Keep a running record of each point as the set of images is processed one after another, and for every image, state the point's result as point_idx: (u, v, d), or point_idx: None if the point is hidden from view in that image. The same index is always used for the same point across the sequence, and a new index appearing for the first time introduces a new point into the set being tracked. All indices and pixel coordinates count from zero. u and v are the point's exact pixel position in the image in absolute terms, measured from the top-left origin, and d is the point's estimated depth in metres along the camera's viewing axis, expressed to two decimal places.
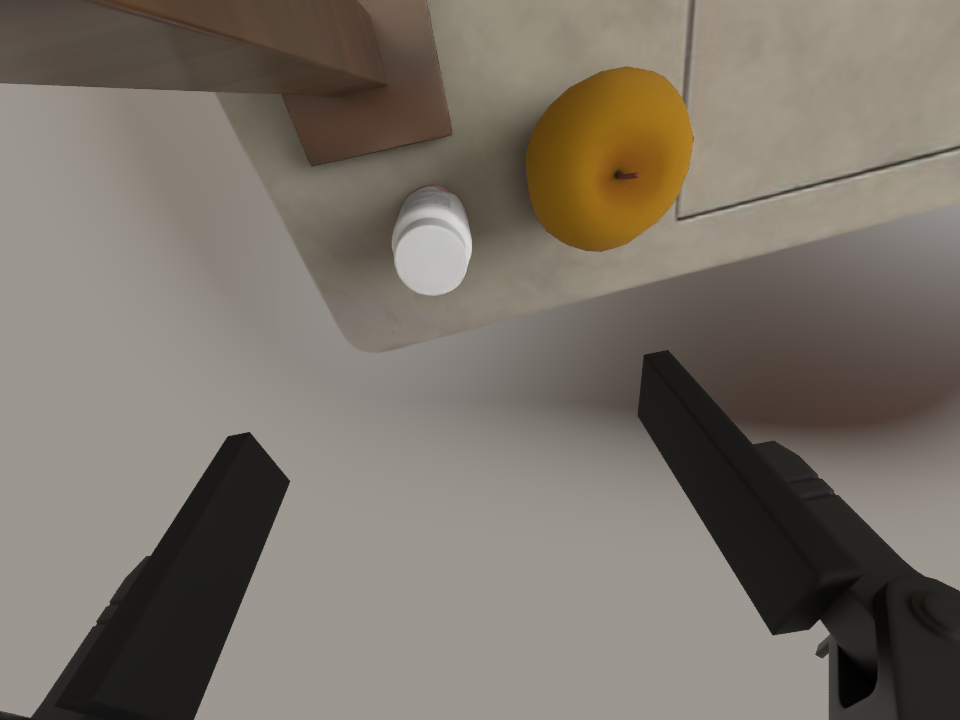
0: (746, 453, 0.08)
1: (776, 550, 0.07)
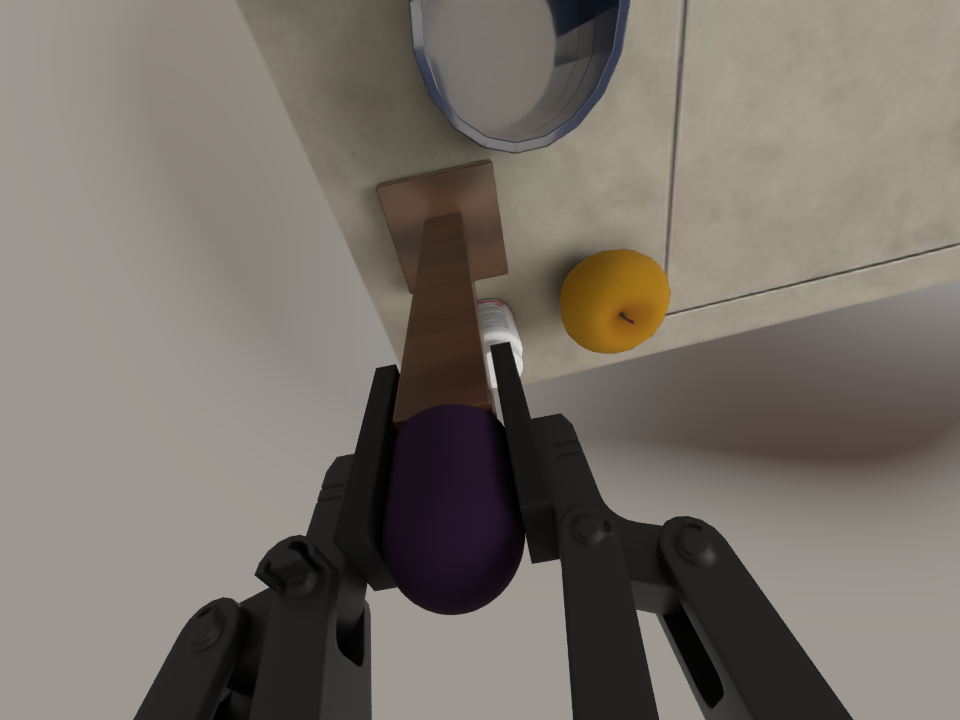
0: (521, 421, 0.10)
1: None
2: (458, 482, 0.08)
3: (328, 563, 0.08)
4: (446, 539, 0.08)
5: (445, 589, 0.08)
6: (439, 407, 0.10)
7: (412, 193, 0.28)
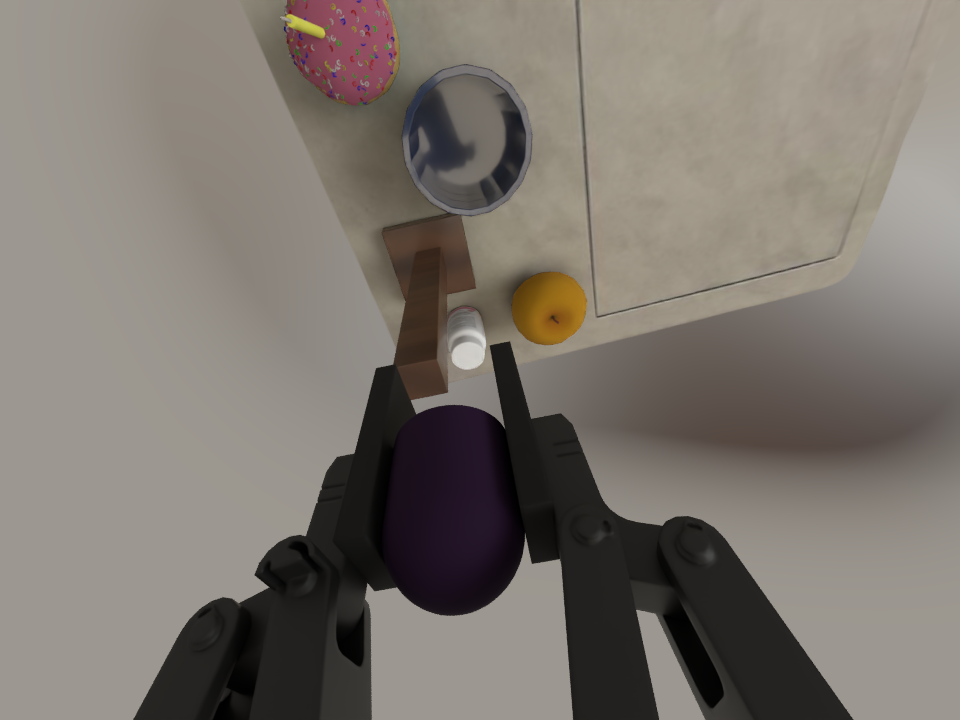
0: (521, 421, 0.10)
1: None
2: (457, 483, 0.08)
3: (328, 563, 0.08)
4: (446, 540, 0.08)
5: (445, 590, 0.08)
6: (439, 408, 0.10)
7: (406, 235, 0.41)
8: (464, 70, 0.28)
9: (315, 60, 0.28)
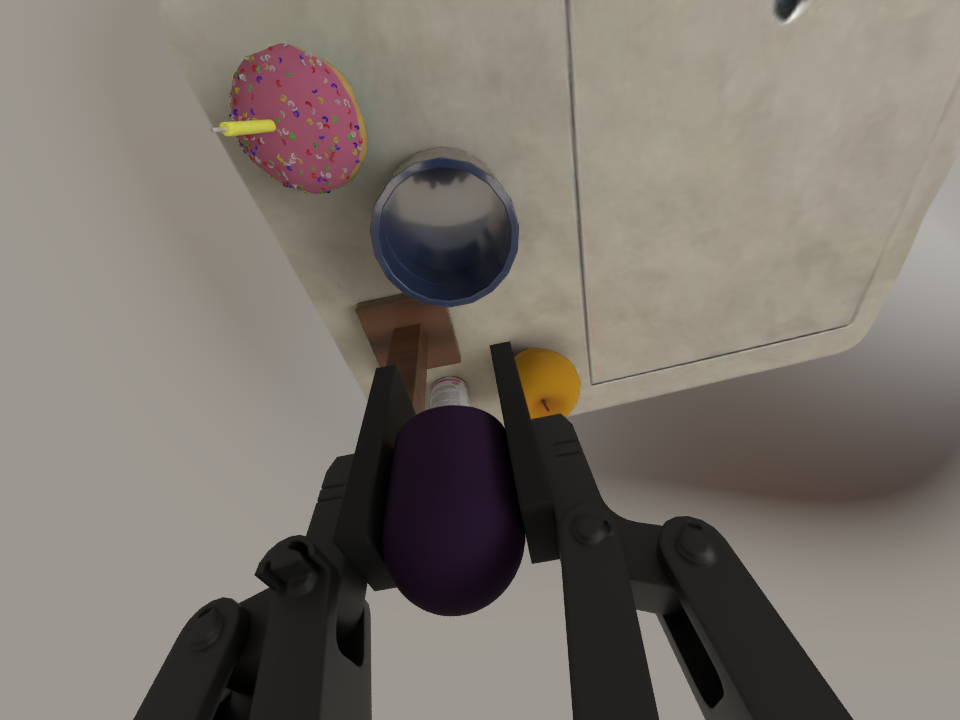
0: (521, 421, 0.10)
1: None
2: (458, 483, 0.08)
3: (328, 563, 0.08)
4: (446, 540, 0.08)
5: (446, 590, 0.08)
6: (439, 408, 0.10)
7: (383, 313, 0.37)
8: (440, 163, 0.25)
9: (266, 153, 0.24)
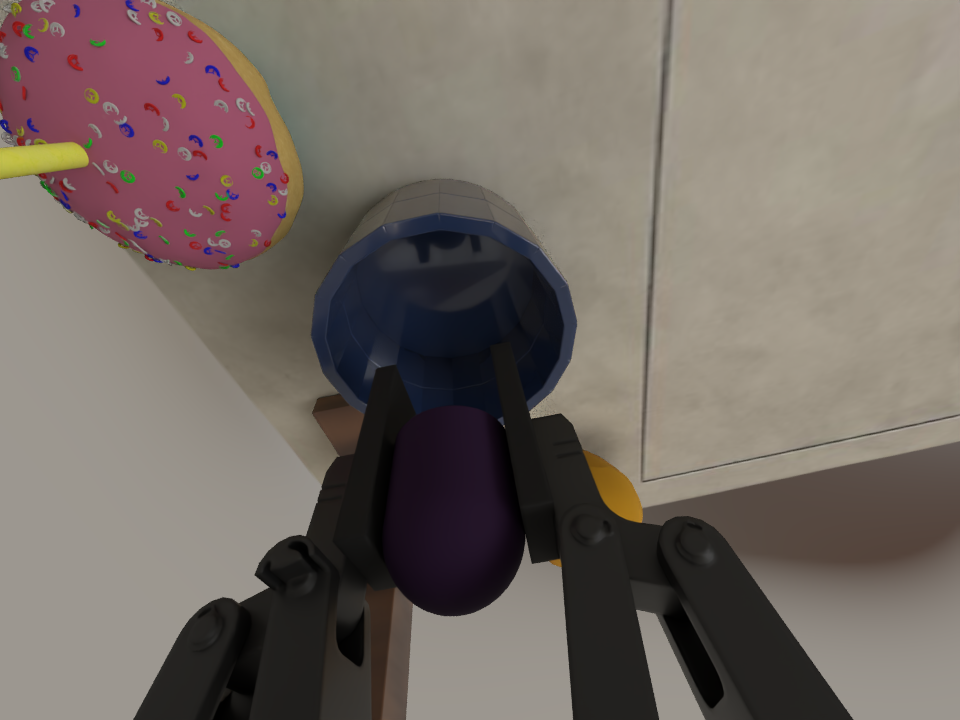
0: (521, 421, 0.10)
1: None
2: (458, 483, 0.08)
3: (328, 563, 0.08)
4: (446, 541, 0.08)
5: (446, 590, 0.08)
6: (439, 408, 0.10)
7: (354, 415, 0.25)
8: (436, 224, 0.13)
9: (87, 207, 0.12)
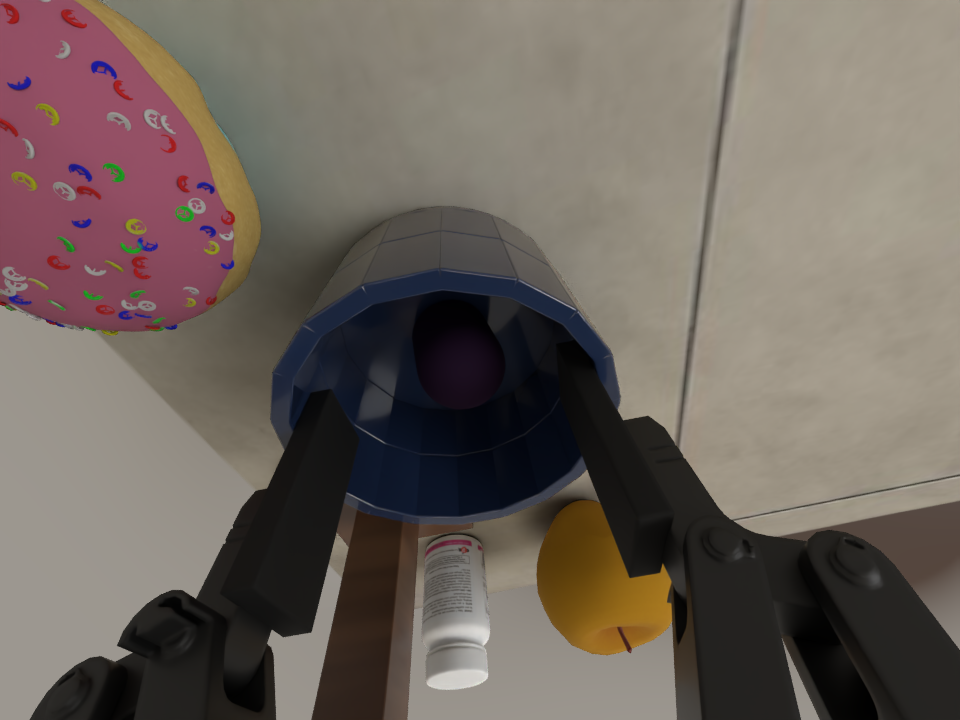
0: (613, 424, 0.09)
1: (621, 502, 0.08)
2: (457, 323, 0.14)
3: (210, 612, 0.07)
4: (456, 346, 0.13)
5: (461, 373, 0.13)
6: (437, 303, 0.16)
7: None
8: (437, 283, 0.09)
9: None
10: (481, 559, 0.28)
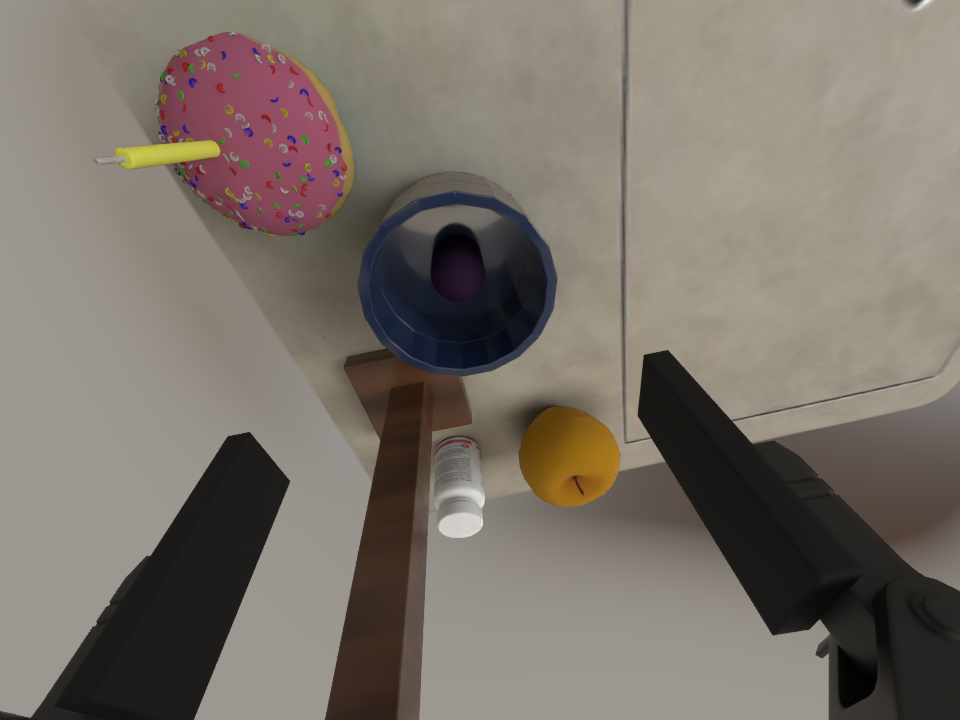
0: (746, 453, 0.08)
1: (776, 550, 0.07)
2: (453, 246, 0.23)
3: None
4: (450, 258, 0.22)
5: (452, 274, 0.22)
6: None
7: (378, 370, 0.30)
8: (453, 199, 0.18)
9: (210, 186, 0.17)
10: (478, 455, 0.37)
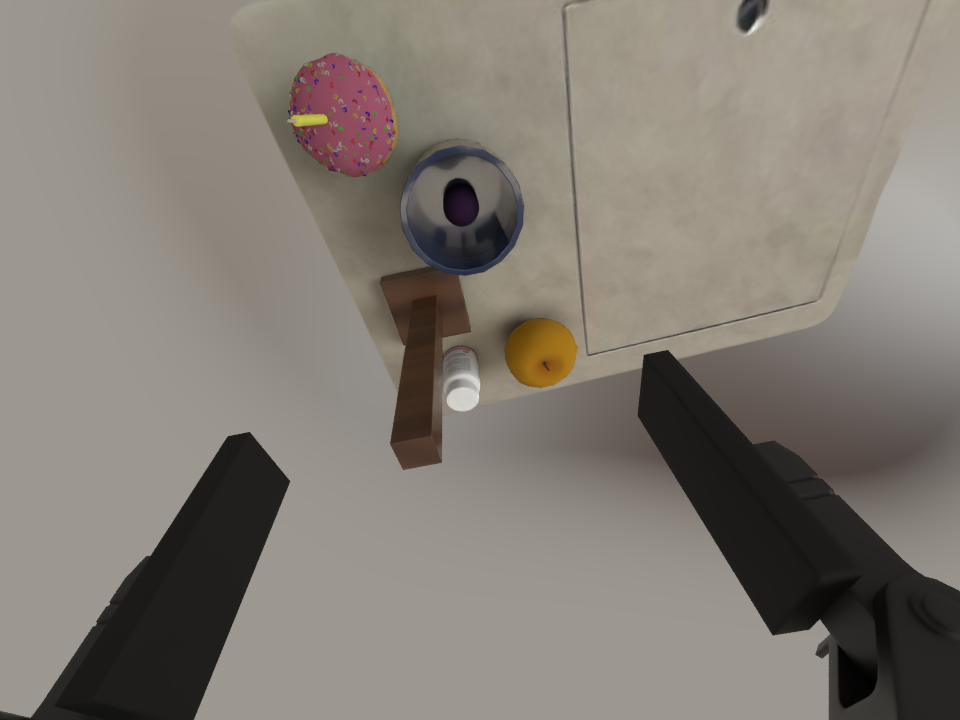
0: (746, 453, 0.08)
1: (776, 550, 0.07)
2: (458, 187, 0.35)
3: None
4: (456, 194, 0.34)
5: (458, 204, 0.34)
6: (453, 184, 0.37)
7: (404, 285, 0.42)
8: (459, 150, 0.30)
9: (318, 141, 0.29)
10: (475, 359, 0.49)
